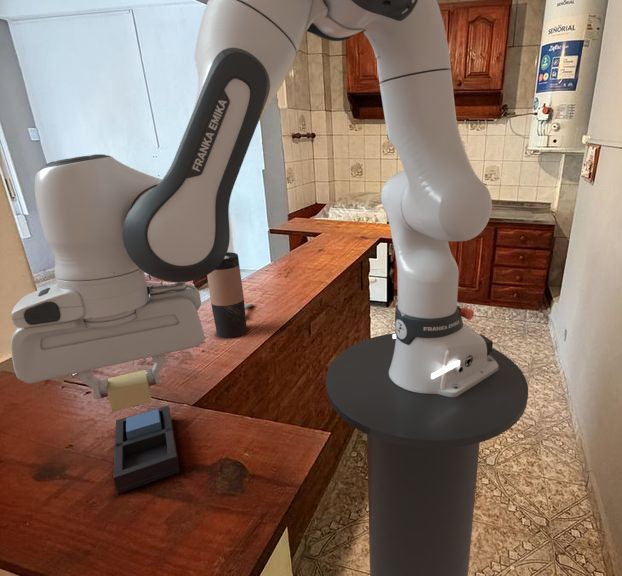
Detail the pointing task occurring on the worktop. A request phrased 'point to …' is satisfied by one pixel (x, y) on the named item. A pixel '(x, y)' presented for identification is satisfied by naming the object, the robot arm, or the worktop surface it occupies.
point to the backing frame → (144, 455)
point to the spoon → (248, 306)
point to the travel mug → (227, 298)
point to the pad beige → (128, 390)
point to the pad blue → (143, 424)
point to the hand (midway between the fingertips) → (129, 389)
